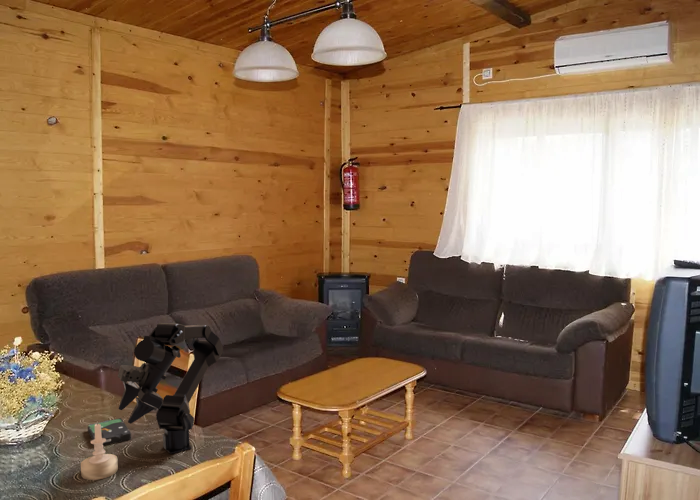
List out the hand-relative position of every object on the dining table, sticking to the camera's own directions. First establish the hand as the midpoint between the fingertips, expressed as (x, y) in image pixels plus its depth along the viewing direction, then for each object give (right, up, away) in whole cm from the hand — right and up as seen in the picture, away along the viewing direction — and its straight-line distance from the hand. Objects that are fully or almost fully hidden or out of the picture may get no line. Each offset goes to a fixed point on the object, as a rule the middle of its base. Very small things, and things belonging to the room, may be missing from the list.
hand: (124, 416), depth 166 cm
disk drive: (-13, -12, +21) cm, 28 cm away
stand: (-5, -14, -4) cm, 15 cm away
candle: (-5, -11, -3) cm, 13 cm away
